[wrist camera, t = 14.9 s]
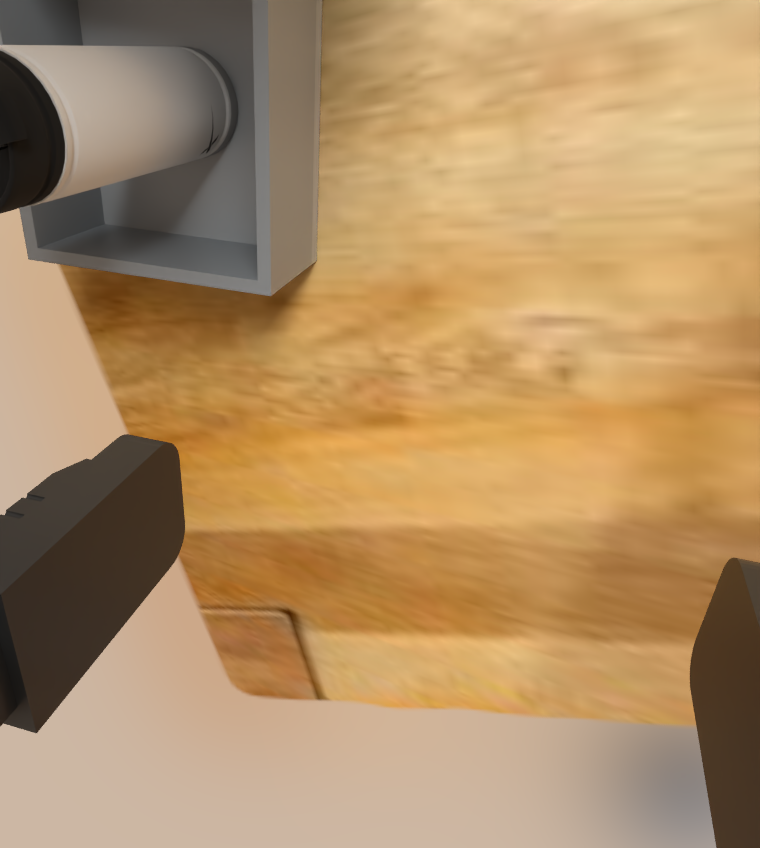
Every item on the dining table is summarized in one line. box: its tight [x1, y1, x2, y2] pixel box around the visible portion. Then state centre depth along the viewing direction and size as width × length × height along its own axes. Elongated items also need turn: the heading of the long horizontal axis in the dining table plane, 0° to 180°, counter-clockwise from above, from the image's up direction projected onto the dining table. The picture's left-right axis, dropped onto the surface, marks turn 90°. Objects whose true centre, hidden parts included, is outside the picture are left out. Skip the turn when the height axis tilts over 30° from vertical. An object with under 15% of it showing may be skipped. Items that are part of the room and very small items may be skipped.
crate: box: [0, 0, 322, 296], centre depth 41 cm, size 18×16×8 cm
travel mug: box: [0, 45, 238, 213], centre depth 35 cm, size 6×7×20 cm
